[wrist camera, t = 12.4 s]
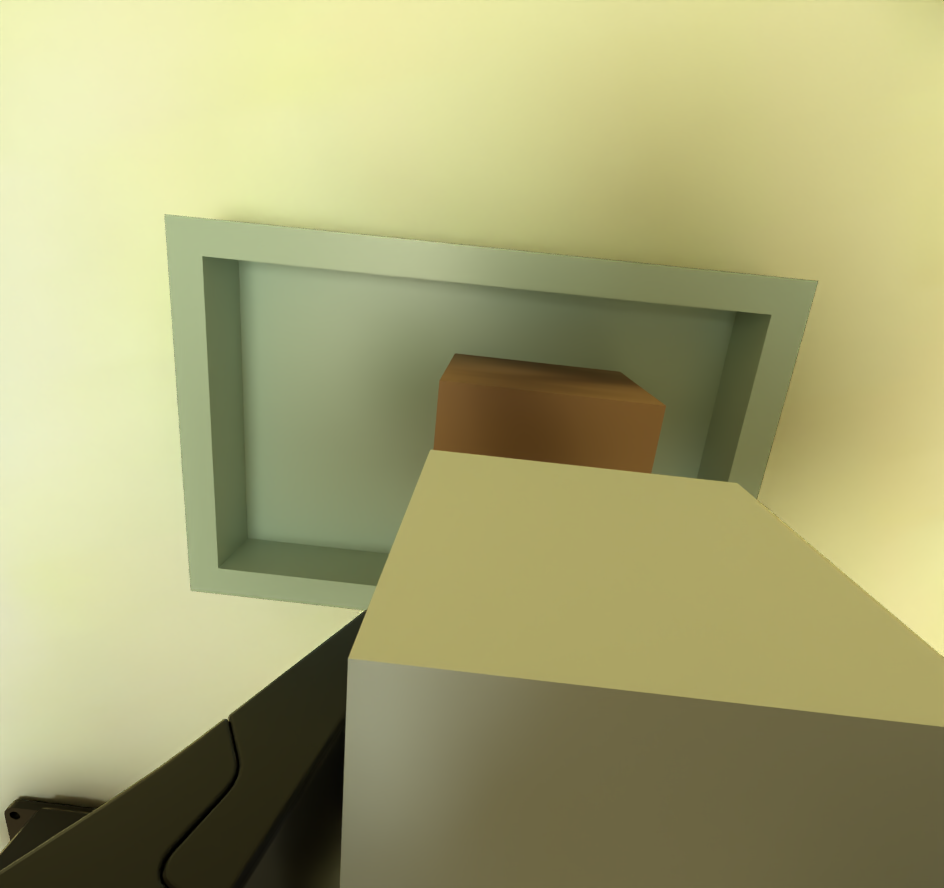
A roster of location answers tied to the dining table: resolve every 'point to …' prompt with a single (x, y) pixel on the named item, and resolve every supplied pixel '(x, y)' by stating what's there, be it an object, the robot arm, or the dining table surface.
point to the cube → (630, 696)
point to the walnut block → (546, 414)
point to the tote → (425, 380)
